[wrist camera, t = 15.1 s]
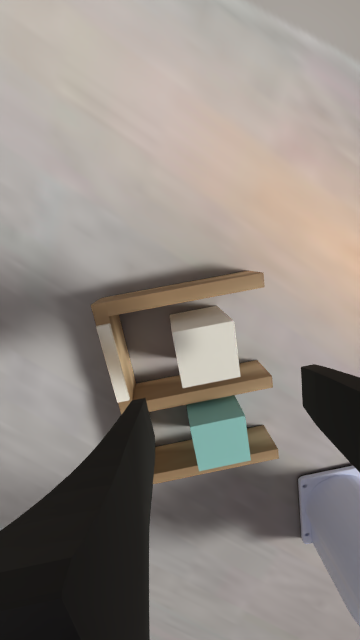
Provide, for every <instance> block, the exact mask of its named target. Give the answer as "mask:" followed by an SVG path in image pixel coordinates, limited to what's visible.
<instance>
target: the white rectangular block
mask: <svg viewBox="0 0 360 640" xmlns="http://www.w3.org/2000/svg"><path fill="white" fill-rule="evenodd" d="M170 322H171V330H172V336H173V341H174V346H175V351H176V357H177V362H178V367H179V372H180V377H181V382H182V387H183V388H187V387H192V386H197V385H202V384H207V383H212V382H217V381H222V380H227V379H232V378H237V377H241V376H240V367H239V359H238V351H237V343H236V334H235V326H234V320H232V319H231V318H230V317H229V316H228V315H227V314H225V313H224V312H223V311H222V310H221V309H220V308H219V307H217V306H213V307H207V308H202V309H197V310H191V311H186V312H181V313H176V314H170Z"/></svg>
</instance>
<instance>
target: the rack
mask: <svg viewBox="0 0 360 640" xmlns="http://www.w3.org/2000/svg"><path fill="white" fill-rule="evenodd" d="M262 287H264V275H263V273H261V272H254V271H243V272H238V273H233V274H227V275H222V276H217V277H211V278H206V279H201V280H195V281H190V282H184V283H179V284H174V285H168V286H163V287H158V288H152V289H147V290H141V291H136V292H131V293H125V294H120V295H115V296H109V297H104V298H101V299H99V300H98V301H96V302H94V303H93V304H91V308H92V312H93V315H94V319H95V323H96V326H97V327H96V329H97V332H98V336H99V339H100V343H101V346H102V350H103V354H104V357H105V361H106V364H107V368H108V371H109V375H110V378H111V382H112V385H113V389H114V393H115V396H116V400H117V403H118V404H119V408H120V411H121V415H122V413H123V412H124V411H125V409H126V408H127V406H128V405H129V404H130V402H131V401H132V400H136V399H141V398H146V402H147V406H148V411H149V412H151V411H156V410H161V409H166V408H171V407H176V406H181V405H186V404H191V403H197V402H202V401H207V400H212V399H217V398H222V397H227V396H232V395H237V394H242V393H247V392H252V391H257V390H262V389H267V388H272V387H273V383H272V376H271V375H270V373H269V372H268V371H267V370H266V369H265V368H264V367H263V366H262V365H261V364H260V363H259V362H258V361H257V360H255V361H250V362H244V363H239V367H240V376H241V377H237V378H232V379H227V380H222V381H217V382H212V383H207V384H202V385H197V386H192V387H187V388H183V387H182V382H181V377H180V375H178V376H173V377H168V378H163V379H158V380H152V381H147V382H142V383H137V384H136V381H135V377H134V373H133V369H132V365H131V361H130V357H129V353H128V349H127V345H126V341H125V337H124V333H123V329H122V325H121V321H120V317H119V314H124V313H129V312H135V311H140V310H145V309H151V308H156V307H161V306H167V305H172V304H177V303H183V302H188V301H193V300H199V299H204V298H209V297H214V296H220V295H225V294H230V293H236V292H241V291H246V290H252V289H257V288H262ZM247 434H248V442H249V450H250V457H251V461H246V462H241V463H236V464H232V465H227V466H222V467H217V468H213V469H208V470H203V471H199V469H198V464H197V459H196V454H195V449H194V444H193V440H188V441H183V442H178V443H173V444H168V445H163V446H158V447H155V466H154V477H153V484H157V483H162V482H167V481H171V480H176V479H181V478H186V477H191V476H196V475H201V474H205V473H210V472H215V471H220V470H225V469H230V468H235V467H239V466H244V465H249V464H254V463H259V462H264V461H268V460H273V459H278V458H279V456H278V448H277V447H276V445H275V443H274V442H273V440H272V438H271V437H270V435H269V433H268V432H267V430H266V428H265V427H264V425H262V426H257V427H252V428H247Z"/></svg>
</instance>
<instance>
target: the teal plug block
mask: <svg viewBox="0 0 360 640" xmlns="http://www.w3.org/2000/svg"><path fill="white" fill-rule="evenodd" d="M186 406H187V412H188V418H189V424H190V430H191V435H192V440H193V444H194V449H195V454H196V459H197V464H198V469H199V471H203V470H208V469H213V468H217V467H222V466H227V465H232V464H236V463H241V462H246V461H251V457H250V450H249V442H248V434H247V427H246V419H245V415H244V413H243V411H242V409H241V407H240V405H239V403H238V401H237V399H236V397H235V396H234V395H232V396H227V397H222V398H217V399H212V400H207V401H202V402H197V403H191V404H186Z"/></svg>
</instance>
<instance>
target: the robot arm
mask: <svg viewBox="0 0 360 640" xmlns="http://www.w3.org/2000/svg"><path fill="white" fill-rule="evenodd" d="M301 377H302V398H303V407H304V408H305V410H306V411H307V413H308V414H309V415H310V417H311V418H312V420H313V421H314V422H315V424H316V425H317V426H318V427H319V429H320V430H321V431H322V432H323V433H324V434H325V435H326V436H327V437H328V439H329V440H330V441H331V442H332V443H333V444H334V445H335V446H336V447H337V448H338V450H339V451H340V452H341V453H342V454H343V455H344V456H345V457H346V458H347V459H348V460H349V462H350V463H351V464H352V465H353V466H348V467H343V468H339V469H334V470H329V471H324V472H319V473H315V474H310V475H305V476H301V477H300V478H299V479H298V486H299V503H300V520H301V538H302V541H303V543H305V544H309V543H313V544H314V546H315V548H316V550H317V552H318V554H319V556H320V557H321V559H322V561H323V563H324V565H325V567H326V569H327V571H328V573H329V575H330V576H331V578H332V580H333V582H334V584H335V586H336V588H337V590H338V592H339V593H340V595H341V597H342V599H343V601H344V603H345V605H346V607H347V609H348V610H349V612H350V614H351V615H352V617H353V618H354V620H355V621H356V622H357V624H358V625H359V626H360V378H359V377H356V376H353V375H350V374H346V373H343V372H340V371H337V370H334V369H330V368H327V367H323V366H319V365H309V366H304V367H301ZM154 466H155V435H154V431H153V427H152V423H151V419H150V415H149V411H148V406H147V402H146V398H141V399H136V400H132V401H131V402H130V404H129V405H128V406H127V408H126V409H125V411H124V412H123V413H122V415H121V416H120V418H119V419H118V420H117V422H116V423H115V424H114V426H113V427H112V428H111V430H110V431H109V432H108V433H107V435H106V436H105V437H104V438H103V439H102V441H101V442H100V443H99V444H98V445H97V447H96V448H95V449H94V450H93V451H92V452H91V454H90V455H89V456H88V457H87V458H86V459H85V460H84V461H83V462H82V463H81V464H80V465H79V466H78V467H77V468H76V469H75V470H74V471H73V472H72V473H71V474H70V475H69V476H68V477H66V478H65V479H64V480H63V481H62V482H61V483H60V484H59V485H57V486H56V487H55V488H54V489H53V490H52V491H51V492H50V493H49V494H47V495H46V496H45V497H44V498H43V499H41V500H40V501H39V502H38V503H36V504H35V505H34V506H33V507H31V508H30V509H29V510H28V511H26V512H25V513H24V514H22V515H21V516H20V517H19V518H17V519H16V520H15V521H13V522H12V523H11V524H9V525H8V526H7V527H5V528H4V529H2V530H1V531H0V640H149V523H150V509H151V498H152V488H153V477H154Z"/></svg>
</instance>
